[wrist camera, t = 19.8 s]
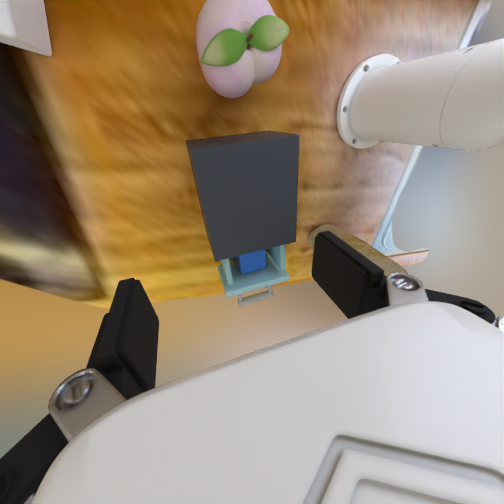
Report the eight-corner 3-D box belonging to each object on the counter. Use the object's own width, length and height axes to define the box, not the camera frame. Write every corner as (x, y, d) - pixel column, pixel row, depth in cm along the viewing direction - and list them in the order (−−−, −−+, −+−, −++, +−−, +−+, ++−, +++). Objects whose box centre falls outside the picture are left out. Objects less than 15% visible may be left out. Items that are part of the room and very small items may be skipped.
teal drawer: (273, 278, 48) (288, 302, 41) (223, 292, 45) (231, 320, 39) (270, 193, 37) (290, 208, 31) (204, 205, 35) (211, 225, 29)
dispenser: (272, 218, 41) (295, 241, 33) (206, 232, 38) (215, 261, 31) (269, 130, 33) (299, 134, 25) (185, 141, 30) (190, 149, 22)
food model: (299, 247, 47) (366, 316, 31) (310, 218, 44) (391, 279, 28) (334, 249, 50) (411, 312, 34) (346, 223, 47) (437, 279, 31)
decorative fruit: (244, -10, 24) (279, -73, 16) (271, 74, 29) (309, 57, 21) (174, 34, 25) (175, -6, 17) (212, 111, 29) (228, 108, 21)
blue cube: (256, 234, 39) (264, 246, 36) (258, 255, 42) (266, 268, 38) (232, 240, 38) (238, 253, 35) (235, 260, 41) (241, 274, 37)
